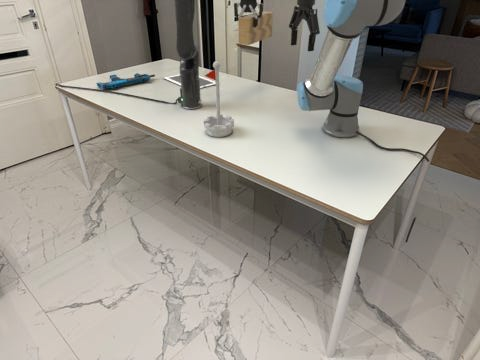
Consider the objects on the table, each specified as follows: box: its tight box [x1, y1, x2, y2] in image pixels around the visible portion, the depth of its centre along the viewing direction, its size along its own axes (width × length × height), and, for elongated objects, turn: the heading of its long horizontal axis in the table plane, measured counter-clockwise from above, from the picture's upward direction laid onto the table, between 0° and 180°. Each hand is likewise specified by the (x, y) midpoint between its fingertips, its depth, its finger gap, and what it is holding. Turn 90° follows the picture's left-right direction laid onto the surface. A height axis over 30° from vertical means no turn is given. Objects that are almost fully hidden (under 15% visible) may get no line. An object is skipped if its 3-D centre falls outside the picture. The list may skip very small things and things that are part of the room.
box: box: [237, 11, 274, 46], centre depth 174 cm, size 26×6×12 cm, turn 149°
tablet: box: [163, 73, 216, 89], centre depth 211 cm, size 32×20×1 cm, turn 41°
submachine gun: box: [95, 72, 156, 90], centre depth 209 cm, size 34×4×25 cm
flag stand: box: [203, 60, 235, 138], centre depth 141 cm, size 13×13×30 cm
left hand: (248, 26), depth 167 cm, fingers closed on box, 7 cm apart
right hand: (301, 48), depth 153 cm, fingers open, 13 cm apart
